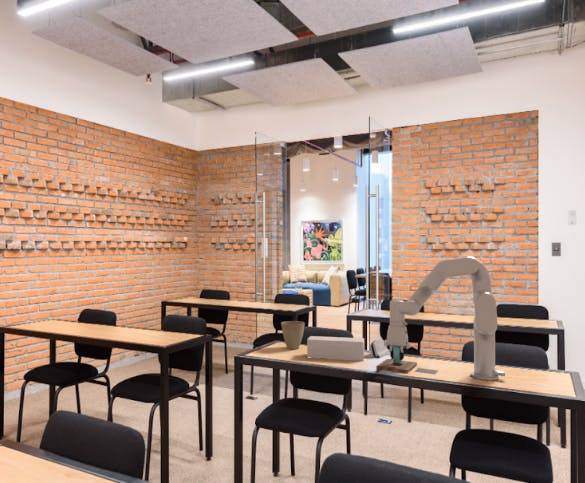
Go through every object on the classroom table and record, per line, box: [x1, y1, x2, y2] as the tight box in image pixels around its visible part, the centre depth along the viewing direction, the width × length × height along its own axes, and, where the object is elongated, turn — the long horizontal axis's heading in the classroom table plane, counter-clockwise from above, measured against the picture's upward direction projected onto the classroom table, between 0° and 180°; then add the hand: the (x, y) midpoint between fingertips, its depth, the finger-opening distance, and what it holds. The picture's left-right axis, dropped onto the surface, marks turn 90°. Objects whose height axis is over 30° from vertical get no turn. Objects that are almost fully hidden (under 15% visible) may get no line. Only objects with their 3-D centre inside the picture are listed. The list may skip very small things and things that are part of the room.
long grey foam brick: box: [306, 335, 365, 362], centre depth 263 cm, size 32×11×11 cm, turn 78°
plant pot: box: [280, 320, 306, 350], centre depth 286 cm, size 15×15×16 cm
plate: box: [414, 367, 439, 375], centre depth 228 cm, size 10×8×2 cm
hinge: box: [369, 338, 390, 359], centre depth 269 cm, size 17×5×10 cm, turn 148°
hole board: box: [376, 358, 418, 374], centre depth 235 cm, size 16×18×3 cm
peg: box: [393, 346, 402, 363], centre depth 235 cm, size 4×4×8 cm
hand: (397, 358), depth 235 cm, fingers closed on peg, 4 cm apart
